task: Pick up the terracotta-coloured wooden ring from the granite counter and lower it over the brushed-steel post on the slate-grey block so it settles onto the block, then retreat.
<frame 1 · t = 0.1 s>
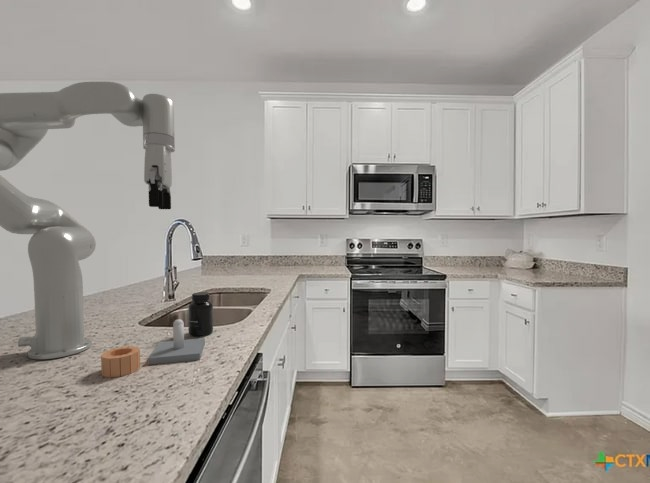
hand: (160, 208, 87), 37 cm above the countertop, tool pointing down, fingers open, 9 cm apart
supplement bottle: (201, 334, 96), on the countertop
post block: (179, 353, 80), on the countertop
ring: (121, 369, 71), on the countertop
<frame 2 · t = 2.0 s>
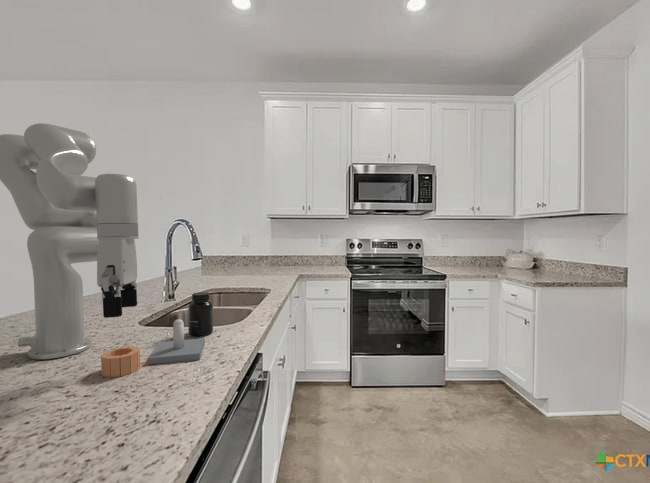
hand: (121, 311, 70), 13 cm above the countertop, tool pointing down, fingers open, 9 cm apart
nothing on the countertop moved.
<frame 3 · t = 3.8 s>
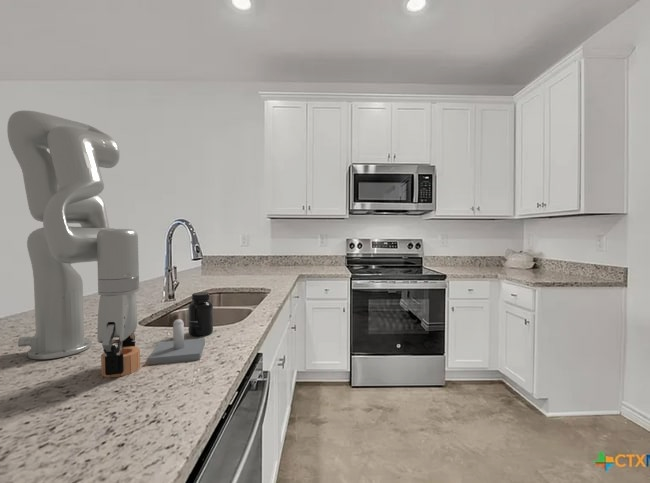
hand: (121, 365, 71), 1 cm above the countertop, tool pointing down, fingers closed on ring, 7 cm apart
ring: (121, 369, 71), on the countertop, touching gripper
everything else where it was.
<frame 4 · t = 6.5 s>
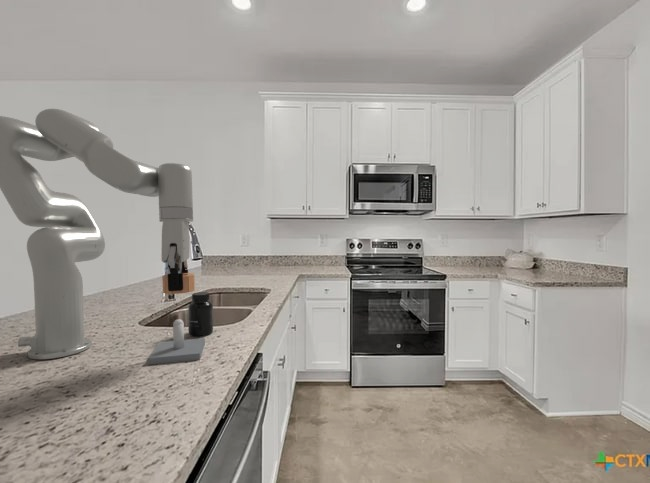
hand: (178, 287, 79), 17 cm above the countertop, tool pointing down, fingers closed on ring, 7 cm apart
ring: (179, 291, 80), point 16 cm above the countertop, touching gripper
everything else where it was.
when the fingers open (4 cm above the countertop, at t = 9.5 s): ring drops 2 cm, resting on post block.
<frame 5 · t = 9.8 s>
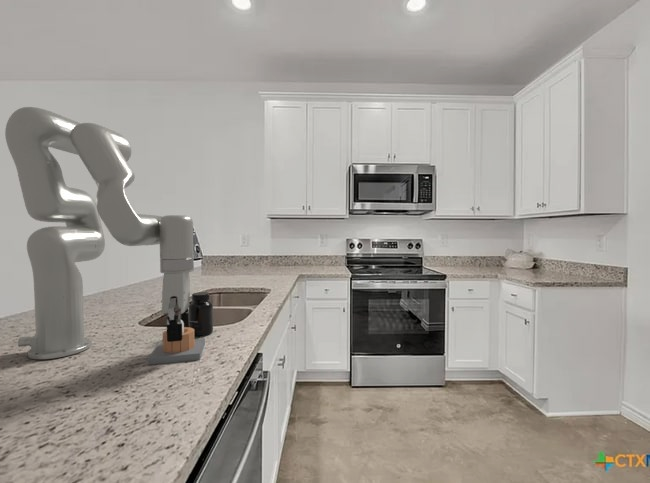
hand: (178, 334, 80), 5 cm above the countertop, tool pointing down, fingers open, 9 cm apart
ring: (179, 347, 80), point 1 cm above the countertop, touching post block
everything else where it was.
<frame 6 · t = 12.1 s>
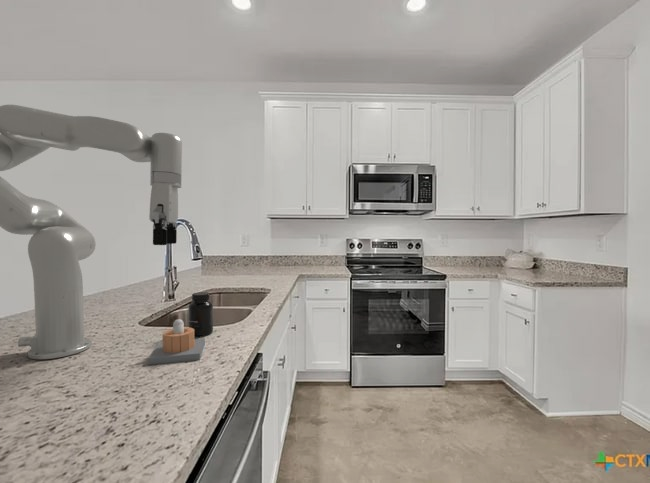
hand: (165, 244, 88), 27 cm above the countertop, tool pointing down, fingers open, 9 cm apart
nothing on the countertop moved.
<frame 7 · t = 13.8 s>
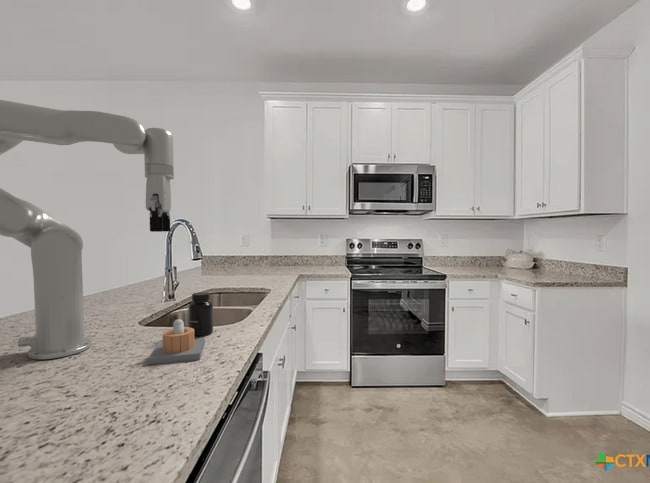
hand: (160, 231, 95), 30 cm above the countertop, tool pointing down, fingers open, 9 cm apart
nothing on the countertop moved.
at the end: ring 0.0 cm off-centre on the post block, point 1.5 cm above the post block's base; the gripper is holding nothing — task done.
